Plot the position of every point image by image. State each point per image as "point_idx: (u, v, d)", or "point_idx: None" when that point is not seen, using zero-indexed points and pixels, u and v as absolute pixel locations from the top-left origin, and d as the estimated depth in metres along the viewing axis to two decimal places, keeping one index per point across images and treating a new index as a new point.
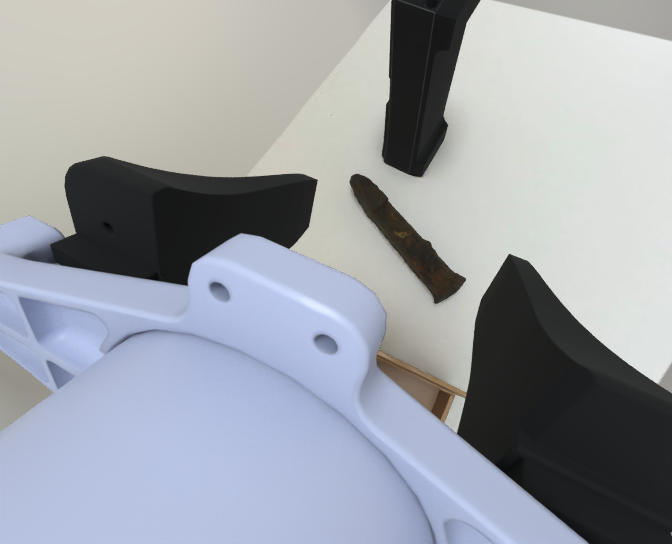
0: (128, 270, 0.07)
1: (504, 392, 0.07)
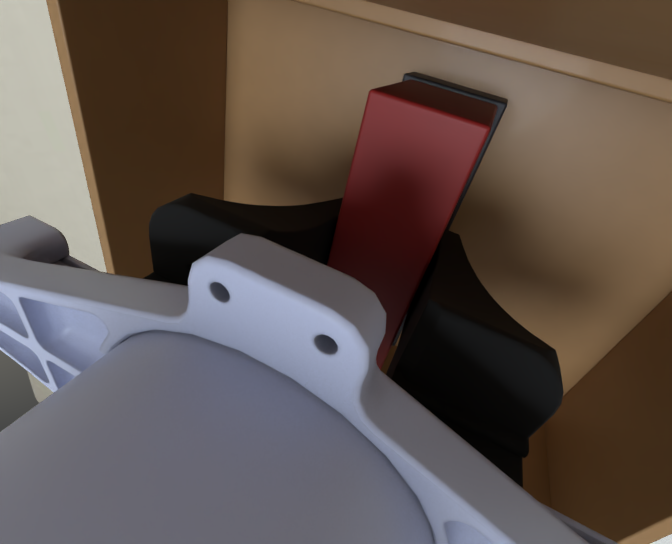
0: None
1: (402, 344, 0.08)
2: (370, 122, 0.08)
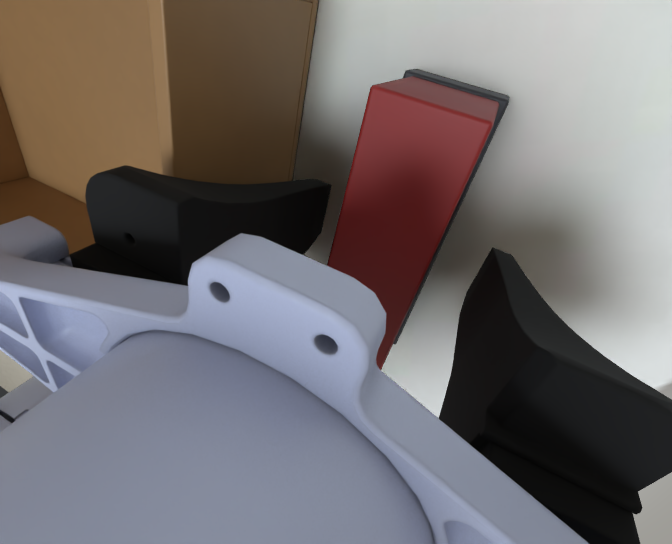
0: None
1: (478, 380, 0.07)
2: (372, 118, 0.08)
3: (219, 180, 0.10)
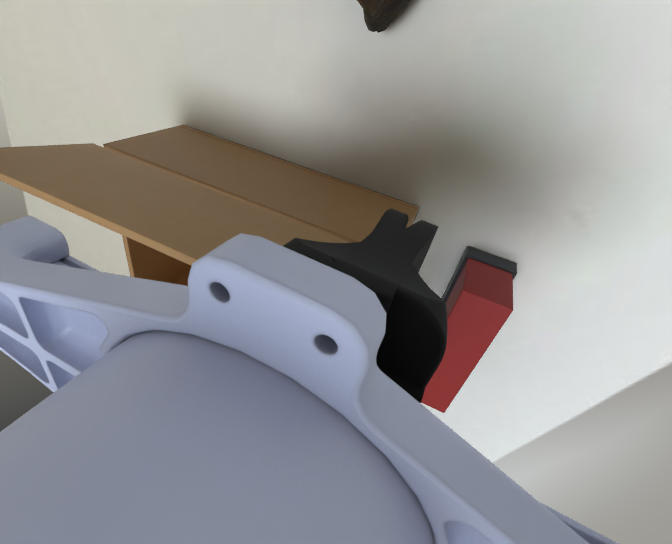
0: None
1: None
2: (461, 300, 0.18)
3: None
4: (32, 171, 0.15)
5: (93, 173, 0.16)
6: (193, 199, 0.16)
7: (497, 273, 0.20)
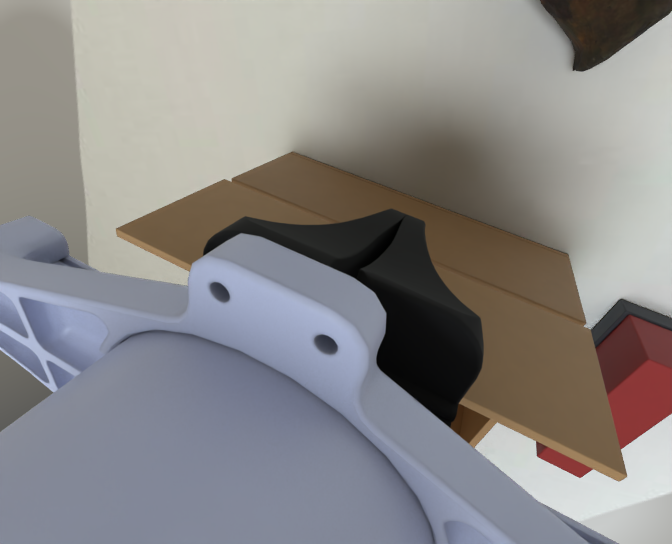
0: None
1: None
2: (643, 369, 0.16)
3: None
4: None
5: None
6: None
7: (668, 335, 0.18)
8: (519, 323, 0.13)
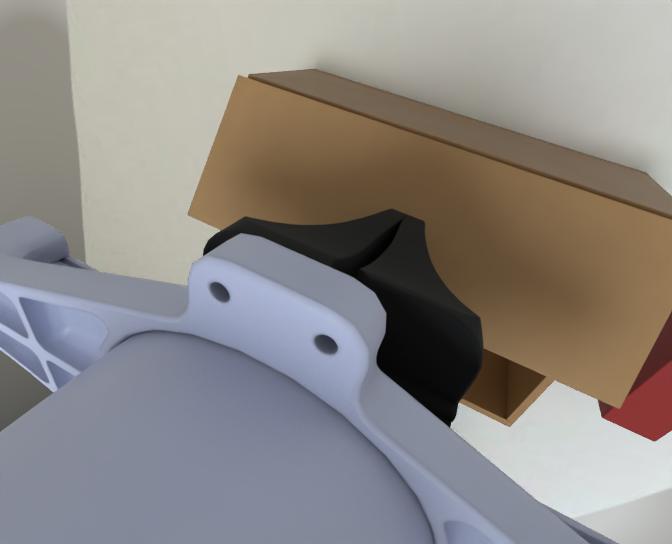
0: None
1: None
2: None
3: None
4: None
5: (295, 184, 0.14)
6: (411, 191, 0.13)
7: None
8: (593, 246, 0.12)
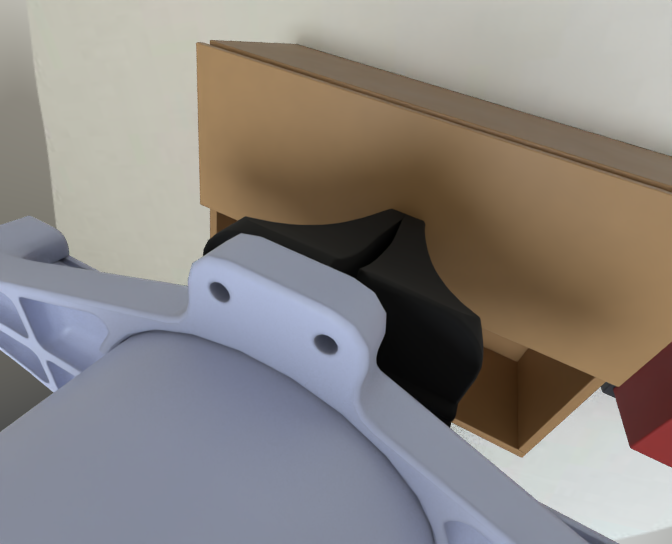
0: None
1: None
2: None
3: None
4: (262, 210, 0.15)
5: (288, 174, 0.13)
6: (410, 181, 0.12)
7: None
8: (623, 245, 0.10)
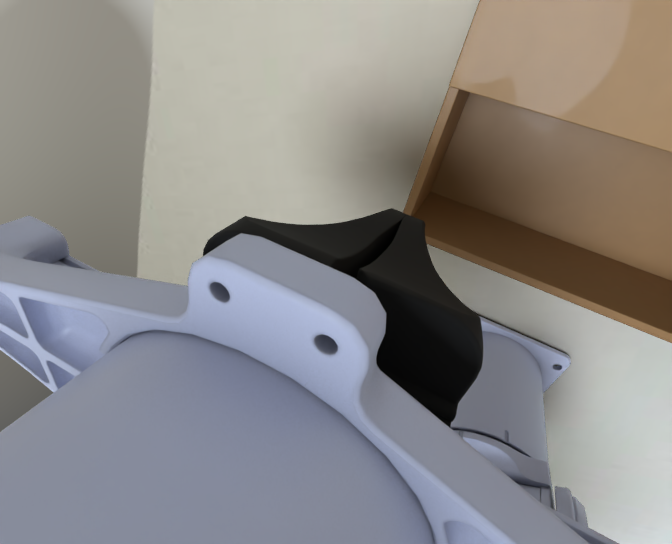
0: None
1: None
2: None
3: None
4: (555, 80, 0.12)
5: (626, 17, 0.10)
6: None
7: None
8: None
